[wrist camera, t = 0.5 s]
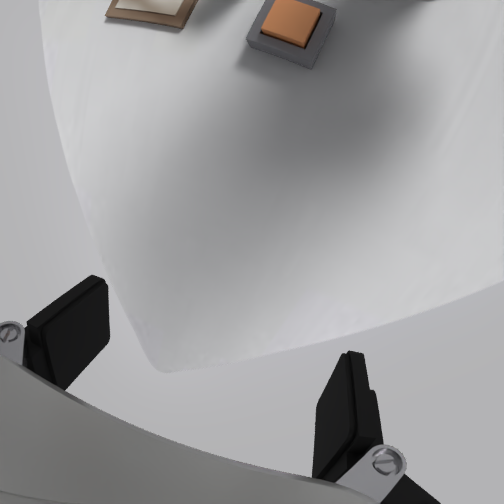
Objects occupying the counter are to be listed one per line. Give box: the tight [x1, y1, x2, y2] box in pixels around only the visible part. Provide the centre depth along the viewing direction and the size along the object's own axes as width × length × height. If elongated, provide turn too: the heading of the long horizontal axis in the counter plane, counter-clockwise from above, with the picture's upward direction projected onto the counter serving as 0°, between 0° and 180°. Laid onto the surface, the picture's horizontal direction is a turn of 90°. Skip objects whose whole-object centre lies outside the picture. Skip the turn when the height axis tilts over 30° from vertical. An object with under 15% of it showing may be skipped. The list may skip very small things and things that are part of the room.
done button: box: [261, 0, 320, 49], centre depth 28 cm, size 5×5×3 cm
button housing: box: [246, 0, 337, 69], centre depth 30 cm, size 8×8×4 cm
